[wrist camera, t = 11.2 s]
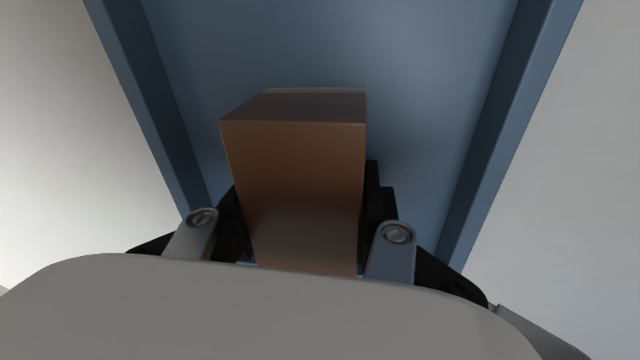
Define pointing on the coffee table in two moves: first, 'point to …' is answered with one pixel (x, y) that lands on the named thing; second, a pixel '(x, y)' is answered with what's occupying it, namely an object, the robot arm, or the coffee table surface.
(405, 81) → the tray
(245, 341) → the robot arm
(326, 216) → the eraser
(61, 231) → the coffee table surface
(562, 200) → the coffee table surface
